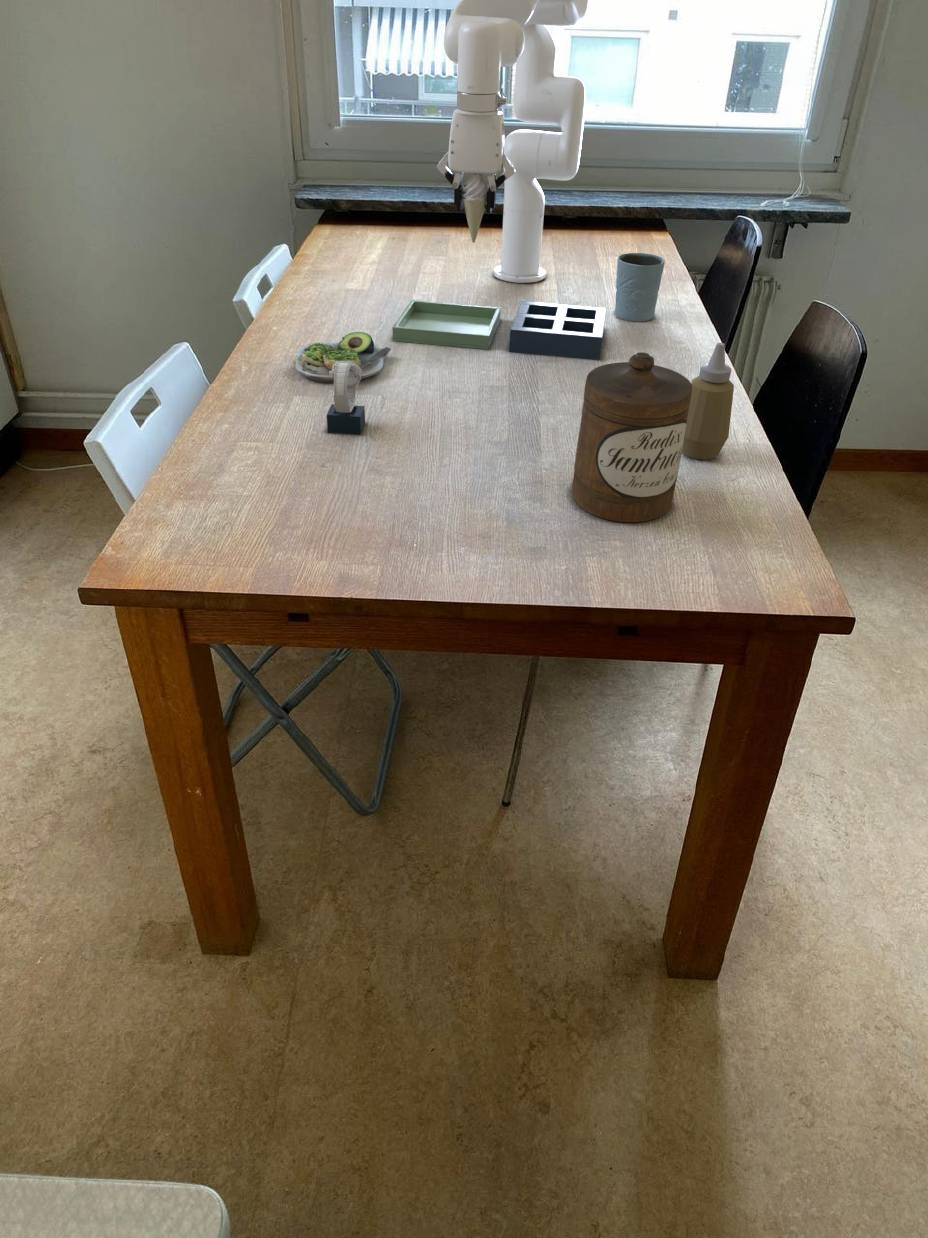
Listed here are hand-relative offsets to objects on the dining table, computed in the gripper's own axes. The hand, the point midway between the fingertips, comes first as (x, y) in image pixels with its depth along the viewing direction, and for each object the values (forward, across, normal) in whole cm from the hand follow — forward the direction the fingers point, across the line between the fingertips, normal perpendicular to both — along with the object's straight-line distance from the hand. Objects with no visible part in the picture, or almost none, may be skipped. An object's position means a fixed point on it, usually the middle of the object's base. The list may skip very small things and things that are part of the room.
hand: (474, 209), depth 176 cm
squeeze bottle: (+24, -45, +46) cm, 68 cm away
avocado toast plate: (+24, +21, +23) cm, 40 cm away
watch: (+24, +13, +49) cm, 56 cm away
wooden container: (+24, -33, +64) cm, 75 cm away
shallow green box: (+24, +5, -1) cm, 25 cm away
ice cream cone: (+6, 0, 0) cm, 6 cm away
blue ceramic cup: (+24, -33, -20) cm, 46 cm away
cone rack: (+24, -18, -1) cm, 30 cm away
